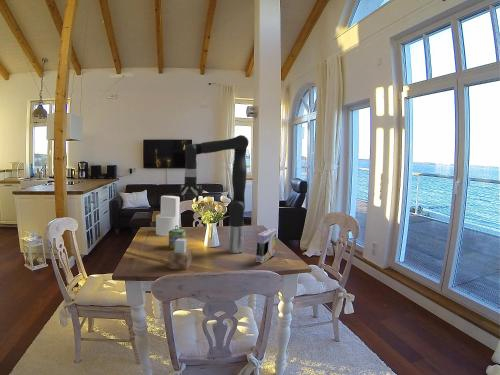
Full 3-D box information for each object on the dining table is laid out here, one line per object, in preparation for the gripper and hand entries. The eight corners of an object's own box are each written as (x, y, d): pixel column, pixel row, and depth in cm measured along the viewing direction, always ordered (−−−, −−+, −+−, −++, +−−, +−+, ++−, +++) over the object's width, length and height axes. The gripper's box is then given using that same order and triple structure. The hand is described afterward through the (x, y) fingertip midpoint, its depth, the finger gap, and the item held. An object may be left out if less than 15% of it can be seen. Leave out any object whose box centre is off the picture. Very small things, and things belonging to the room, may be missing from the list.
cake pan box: (261, 264, 189) (263, 235, 187) (254, 263, 191) (255, 233, 189) (275, 256, 205) (277, 229, 203) (268, 255, 208) (270, 228, 206)
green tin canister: (181, 249, 210) (182, 227, 208) (168, 248, 211) (168, 226, 209) (186, 245, 219) (186, 224, 218) (172, 244, 220) (173, 223, 218)
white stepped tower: (168, 229, 262) (169, 195, 259) (183, 233, 252) (184, 197, 249) (151, 233, 248) (151, 196, 245) (165, 237, 238) (166, 199, 235)
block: (186, 251, 182) (186, 238, 181) (183, 253, 177) (184, 241, 176) (177, 250, 182) (178, 238, 182) (175, 253, 177) (175, 240, 177)
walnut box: (191, 263, 185) (191, 250, 184) (186, 269, 175) (187, 255, 174) (174, 262, 186) (174, 248, 185) (168, 268, 176) (168, 254, 175)
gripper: (203, 176, 208) (202, 201, 209) (181, 175, 209) (180, 199, 210) (200, 177, 200) (199, 202, 202) (177, 175, 201) (177, 201, 203)
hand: (189, 201), depth 206 cm, fingers open, 8 cm apart
